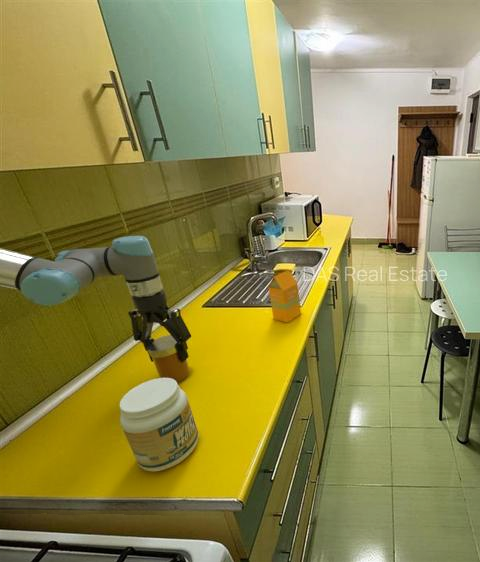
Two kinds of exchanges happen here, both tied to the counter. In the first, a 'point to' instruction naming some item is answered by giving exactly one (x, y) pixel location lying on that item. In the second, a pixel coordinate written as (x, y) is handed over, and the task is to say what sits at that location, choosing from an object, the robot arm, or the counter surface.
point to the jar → (172, 367)
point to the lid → (162, 347)
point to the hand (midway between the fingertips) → (170, 359)
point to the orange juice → (284, 297)
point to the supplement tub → (158, 424)
